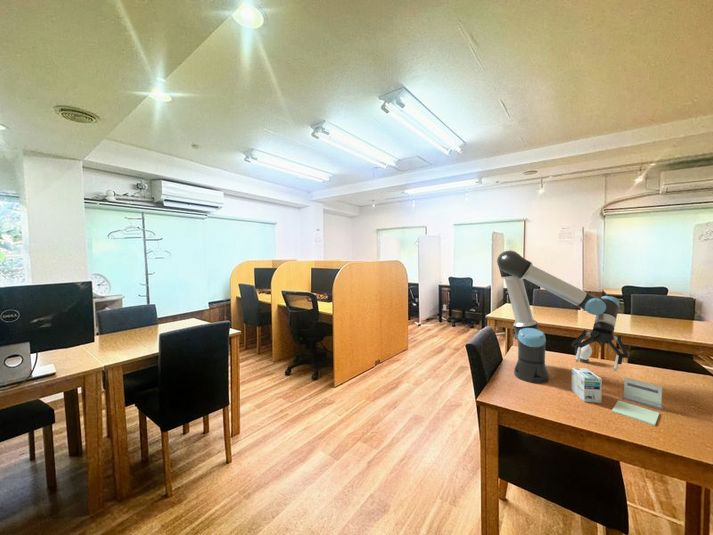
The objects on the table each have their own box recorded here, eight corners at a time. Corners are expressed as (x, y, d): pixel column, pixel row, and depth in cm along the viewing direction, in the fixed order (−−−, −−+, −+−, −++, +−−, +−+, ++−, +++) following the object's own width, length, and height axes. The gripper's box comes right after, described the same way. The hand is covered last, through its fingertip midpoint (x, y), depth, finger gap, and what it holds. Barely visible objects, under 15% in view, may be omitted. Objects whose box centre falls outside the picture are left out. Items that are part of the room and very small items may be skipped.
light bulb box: (602, 403, 120) (602, 378, 119) (583, 402, 122) (584, 377, 121) (587, 390, 131) (587, 367, 130) (570, 389, 132) (570, 367, 131)
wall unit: (622, 398, 123) (623, 378, 122) (623, 396, 125) (624, 376, 124) (661, 410, 114) (662, 388, 113) (662, 408, 116) (663, 386, 115)
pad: (611, 411, 114) (611, 410, 114) (618, 401, 121) (618, 400, 121) (654, 425, 105) (655, 424, 105) (659, 414, 112) (659, 412, 112)
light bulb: (590, 360, 162) (591, 341, 161) (592, 365, 156) (593, 345, 156) (575, 358, 166) (576, 340, 165) (577, 362, 160) (577, 343, 159)
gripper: (641, 335, 130) (634, 378, 122) (574, 324, 149) (564, 361, 141) (639, 326, 126) (632, 369, 118) (571, 316, 145) (560, 353, 137)
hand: (595, 365), depth 129 cm, fingers open, 13 cm apart
